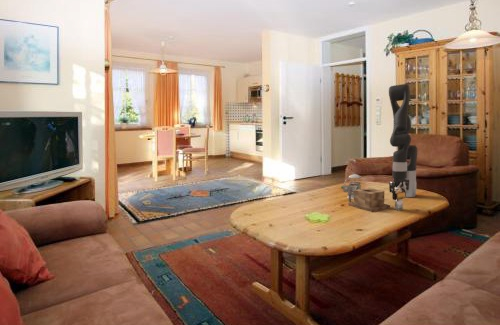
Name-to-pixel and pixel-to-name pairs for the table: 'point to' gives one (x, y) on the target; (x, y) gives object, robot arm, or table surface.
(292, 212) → the table surface
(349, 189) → the mechanical component
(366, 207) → the hitch block
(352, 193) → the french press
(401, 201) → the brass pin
